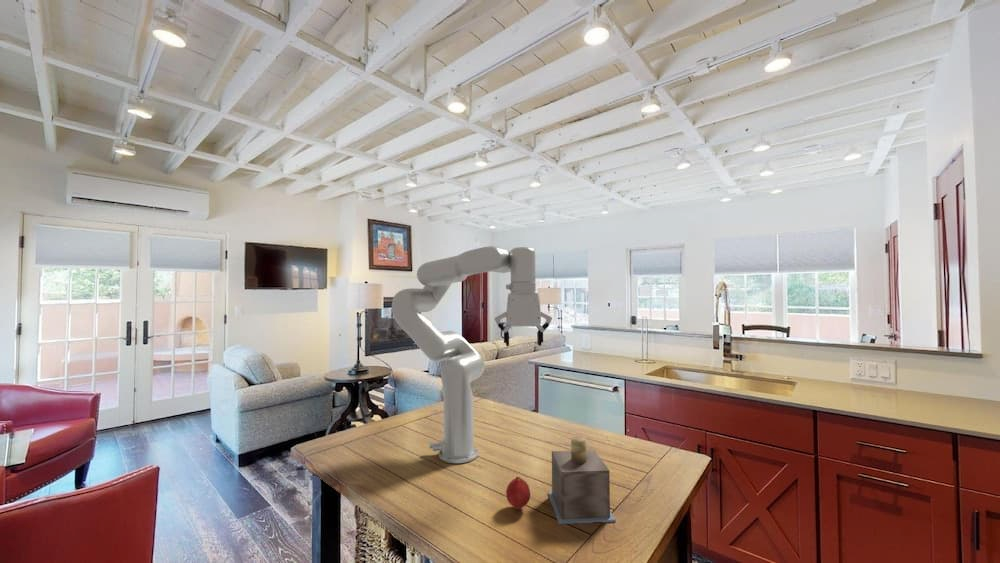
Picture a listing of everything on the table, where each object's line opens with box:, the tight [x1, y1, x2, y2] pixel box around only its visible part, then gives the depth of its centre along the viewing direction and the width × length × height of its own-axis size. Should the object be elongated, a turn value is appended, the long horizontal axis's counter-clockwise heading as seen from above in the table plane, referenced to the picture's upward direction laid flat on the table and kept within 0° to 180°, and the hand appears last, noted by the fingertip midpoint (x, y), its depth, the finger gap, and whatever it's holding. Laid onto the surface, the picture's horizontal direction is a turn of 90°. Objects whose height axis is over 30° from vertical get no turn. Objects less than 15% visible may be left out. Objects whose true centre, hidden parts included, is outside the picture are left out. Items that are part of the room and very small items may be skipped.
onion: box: [505, 475, 531, 511], centre depth 90 cm, size 6×6×8 cm
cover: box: [551, 436, 611, 519], centre depth 91 cm, size 11×11×16 cm
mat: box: [547, 490, 616, 525], centre depth 91 cm, size 13×13×1 cm
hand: (523, 345), depth 112 cm, fingers open, 9 cm apart
